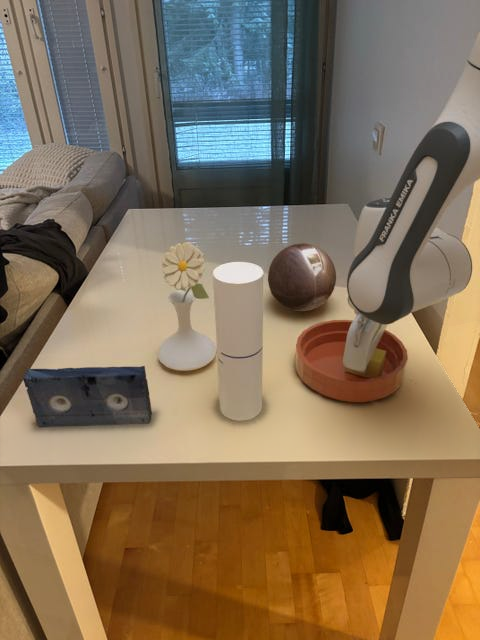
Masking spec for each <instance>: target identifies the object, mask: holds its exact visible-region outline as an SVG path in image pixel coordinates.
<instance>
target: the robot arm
mask: <svg viewBox="0 0 480 640" xmlns="http://www.w3.org/2000/svg"><path fill="white" fill-rule="evenodd" d="M478 180H480V30H479V31H478V34H477V36H476V38H475V40H474V43H473V45H472V47H471V50H470V52H469V55H468V57H467V60H466V62H465V65H464V67H463V69H462V72H461V74H460V76H459V79H458V81H457V83H456V85H455V87H454V89H453V91H452V93H451V94H450V97H449V99H448V100H447V102H446V103H445V106H444V107H443V110H442V111H441V112H440V114H439V116H438V117H437V119H436V121H434V123H433V124H432V126H431V127H430V129H429V130H428V131H427V132H426V134H424V136H423V138H422V139H421V141H420V142H419V143H418V145H417V147H416V148H415V150H414V151H413V153H412V155H411V157H410V158H409V160H408V162H407V164H406V166H405V168H404V170H403V172H402V174H401V175H400V178H399V180H398V182H397V184H396V187H395V189H394V190H393V193H392V194H391V196H390V197H388V198H387V197H385V198H379V199H376V200H371V201H369V202H368V203H367V204H365V205H364V206H363V208H362V210H361V213H360V214H359V218H358V221H357V224H356V230H355V236H354V243H353V252H352V254H353V261H352V263H351V265H350V267H349V270H348V273H347V279H346V291H347V295H348V296H347V304H348V306H349V307H350V308H351V309H352V310H353V312H354V314H355V317H354V319H352V320H353V322H352V324H351V325H350V328H349V331H348V335H347V339H346V345H345V351H344V357H343V365H344V367H346V368H349V369H352V370H355V371H357V372H359V373H363V374H364V373H365V372H366V371H367V368H368V363H369V361H370V359H371V357H372V355H373V353H374V351H375V349H376V347H377V345H378V343H379V341H380V339H381V337H382V335H383V333H384V331H385V330H387V327H388V325H391V324H394V323H395V322H397V321H399V320H401V319H403V318H405V317H407V316H408V315H410V314H412V313H415V312H417V311H419V310H423V309H424V308H427V307H430V306H432V305H435V304H437V303H439V302H441V301H444V300H447V299H449V298H451V297H454V296H455V295H458V294H459V293H461V292H463V291H464V290H465V289H466V288H467V286H468V285H469V283H470V281H471V278H472V274H473V259H472V256H471V253H470V251H469V249H468V247H467V245H466V244H465V243H464V242H463V241H462V240H461V239H459V238H458V237H457V236H455V235H454V234H453V235H452V234H449V233H446V232H444V231H443V230H442V229H440V228H439V227H438V224H439V222H440V220H441V219H442V217H443V215H444V213H445V212H446V210H447V209H448V207H450V205H451V203H453V201H454V200H455V199H456V198H457V197H459V195H460V194H462V193H463V192H464V191H465V190H466V189H467V188H469V187H470V186H471V185H473V184H474V183H476V182H477V181H478Z"/></svg>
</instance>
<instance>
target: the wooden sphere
mask: <svg viewBox="0 0 480 640" xmlns="http://www.w3.org/2000/svg"><path fill="white" fill-rule="evenodd" d="M336 282H337V271H336V267H335V264H334V262H333V260H332V258H331V257H330V256H329V254H328V253H327V252H326V251H325V250H324V249H322V248H320V247H318V246H316V245H313V244H309V243H296V244H295V243H294V244H291V245H288V246H287V247H285V248H283V249H282V250H281V251H279V252H278V253H277V254H276V255H275V257H274V258H273V260H272V261H271V263H270V265H269V269H268V273H267V283H268V288H269V291H270V293H271V295H272V296H273V298H274V299H275V301H277V302H278V303H279V304H280V305H281V306H283V307H284V308H286V309H288V310H292V311H294V312H309V311H312V310H315V309H317V308H319V307H321V306H322V305H324V304H325V303H326V302H327V301H328V300H329V299H330V297H331V296H332V294H333V292H334V290H335V287H336Z"/></svg>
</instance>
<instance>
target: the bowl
mask: <svg viewBox="0 0 480 640" xmlns="http://www.w3.org/2000/svg"><path fill="white" fill-rule="evenodd" d="M353 320H354V319H352V320H351V319H331V320H325V321H321V322H318V323H316V324H312V325H310V326H309V327H307V328H305V329H304V330H303V331H301V333H300V334H299V335H298V337H297V341H296V343H295V356H294V357H295V359H294V365H295V370H296V373H297V375H298V376H299V378H300V379H301V381H302V382H303V383H304V384H305V385H307V386H308V387H309V388H310V389H312V390H314V391H315V392H317V393H319V394H321V395H323V396H325V397H328V398H330V399H333V400H337V401H342V402H349V403H366V402H372V401H373V402H374V401H377V400H380V399H384V398H385V397H388V396H390V395H392V394H394V393H395V392H396V391H397V390H398V389H399V388H400V387H401V386H402V383H403V381H404V379H405V375H406V369H407V364H408V360H409V356H408V350H407V348H406V346H405V345H404V343H403V341H402V340H400V339H399V338H398V337H397V336H396V335H395V334H394V333H392V332H390V331H389V330H387V329H385V331H384V333H383V335H382V337H381V339H380V341H379V343H378V345H377V347H376V348H377V349H381V350H385V351H386V355H385V361H384V366H383V370H382V372H381V374H380V377H377V378H372V379H370V378H366V377H363V376H359V375H356V374H353V373H349V372H346V371H345V367H344V365H343V357H344V351H345V345H346V339H347V335H348V331H349V328H350V325H351V324H352V322H353Z"/></svg>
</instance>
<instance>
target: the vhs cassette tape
mask: <svg viewBox="0 0 480 640" xmlns="http://www.w3.org/2000/svg"><path fill="white" fill-rule="evenodd" d="M22 381H23V383H24V387H25V388H27V389H26V393H27V396H28V399H29V401H30V405H31V408H32V412H33V415H34V416H35V421H36V423H37V426H38V427H40V428H43V427H45V428H47V427H73V426H110V425H112V426H113V425H136V424H139V425H140V424H149V423H150V422H151V418H152V415H153V411H152V404H151V397H150V390H149V389H150V388H149V385H148V379H147V372H146V366H145V365H142V366H106V367H105V366H104V367H103V366H92V367H91V366H89V367H87V366H86V367H64V368H57V369H56V368H27V371H26V372H25V373H24V375H23V378H22Z"/></svg>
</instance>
